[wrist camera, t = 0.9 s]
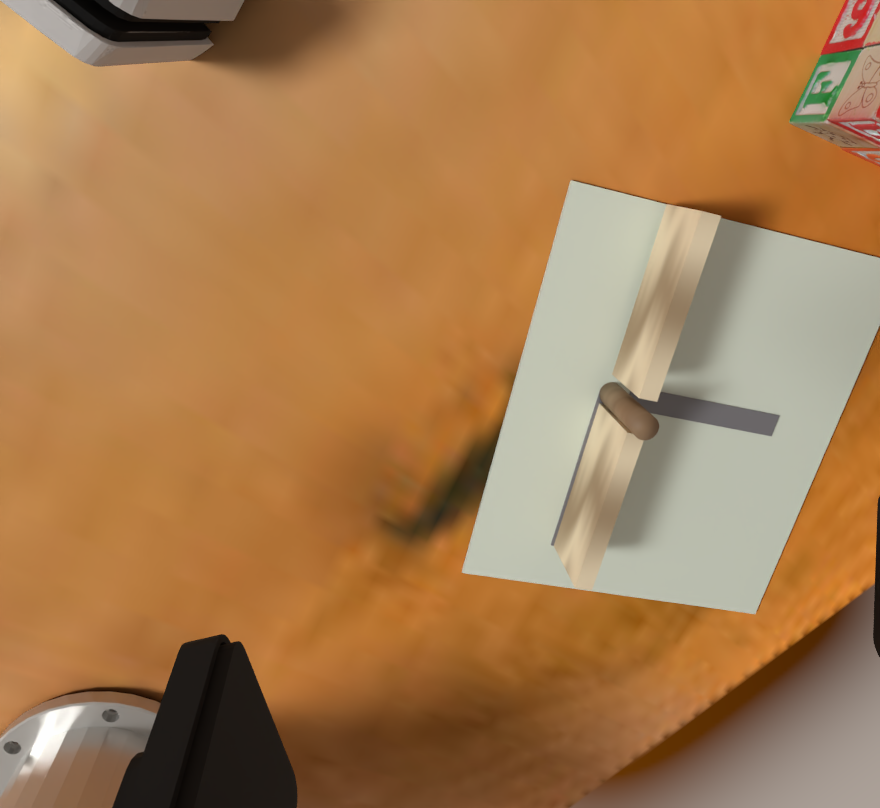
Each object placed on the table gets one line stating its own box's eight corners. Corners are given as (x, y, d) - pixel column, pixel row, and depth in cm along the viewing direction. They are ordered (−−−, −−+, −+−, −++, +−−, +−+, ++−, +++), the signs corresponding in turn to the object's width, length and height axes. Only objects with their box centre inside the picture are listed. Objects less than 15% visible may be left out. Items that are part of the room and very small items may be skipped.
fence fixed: (570, 545, 40) (599, 599, 35) (549, 542, 40) (576, 595, 35) (623, 383, 37) (662, 418, 33) (601, 378, 37) (638, 413, 32)
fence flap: (628, 377, 36) (657, 402, 33) (612, 374, 36) (638, 398, 33) (684, 208, 34) (721, 215, 30) (666, 203, 34) (701, 211, 30)
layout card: (753, 612, 43) (755, 614, 43) (461, 570, 40) (462, 573, 40) (903, 263, 37) (907, 264, 37) (570, 180, 33) (572, 180, 33)
